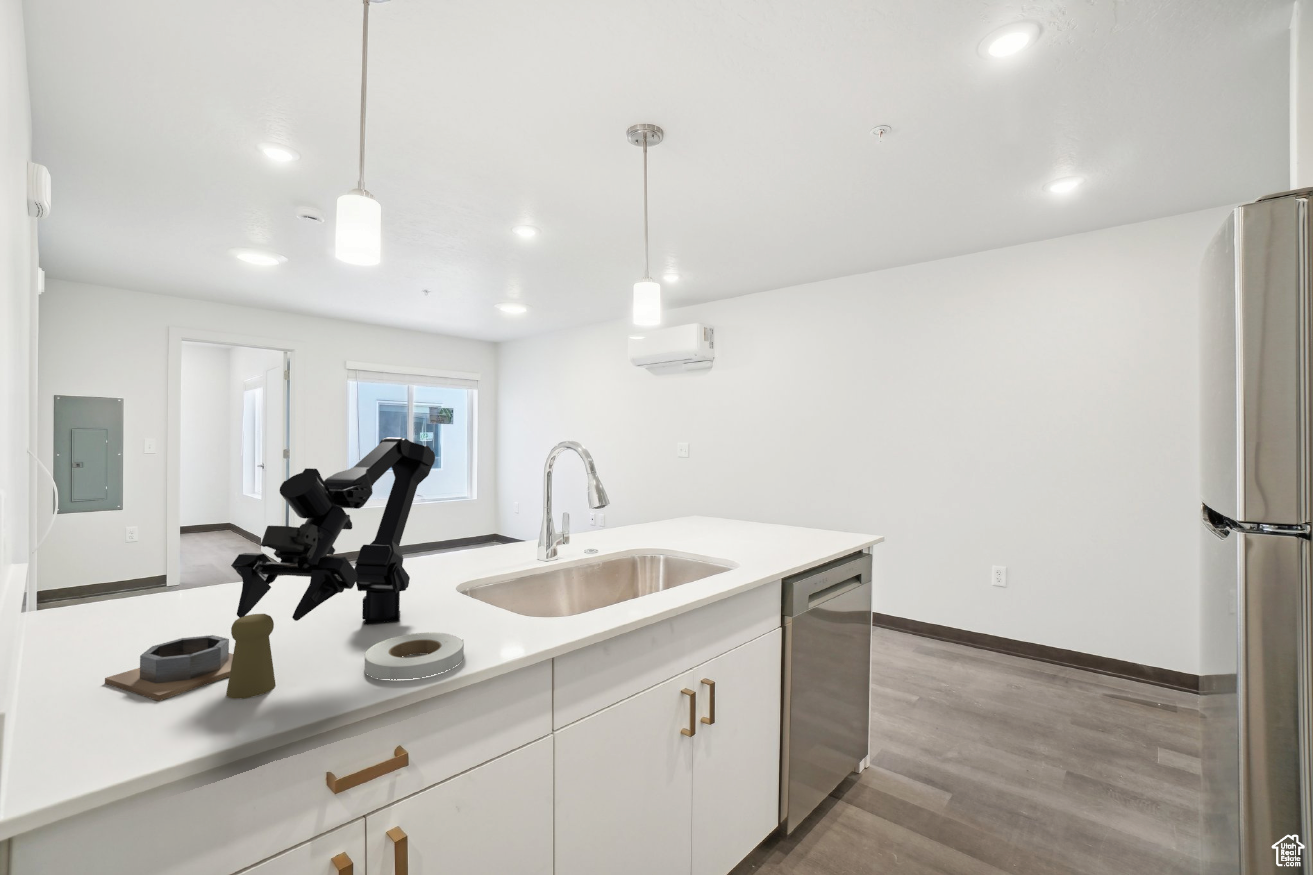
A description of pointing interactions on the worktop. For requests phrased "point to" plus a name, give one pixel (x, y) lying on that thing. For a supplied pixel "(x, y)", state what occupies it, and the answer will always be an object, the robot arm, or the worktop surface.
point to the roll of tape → (391, 665)
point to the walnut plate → (167, 689)
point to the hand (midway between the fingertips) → (266, 618)
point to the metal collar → (184, 659)
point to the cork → (251, 657)
